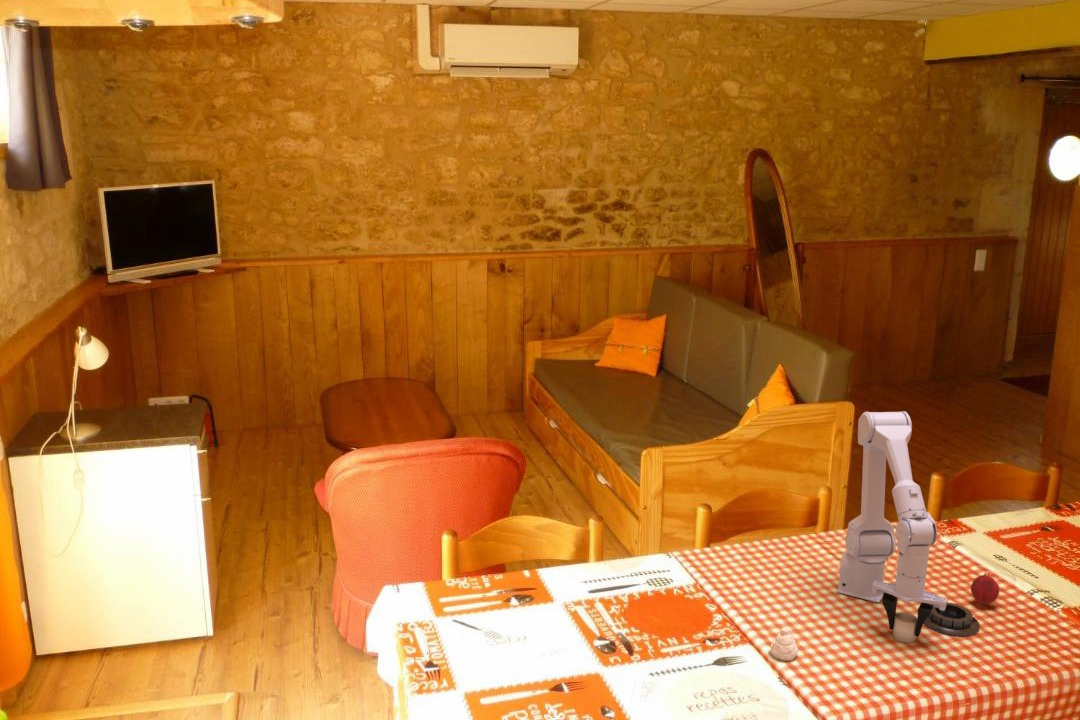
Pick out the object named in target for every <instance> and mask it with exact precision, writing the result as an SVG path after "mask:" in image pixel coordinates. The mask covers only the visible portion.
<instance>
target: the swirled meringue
mask: <svg viewBox="0 0 1080 720" xmlns="http://www.w3.org/2000/svg"><path fill="white" fill-rule="evenodd" d="M770 643H771V644H770V654H771V655H772V656H773V657H774V658H776V659H778V660H780V661H784V662H790V661H793V660H795V658H796V656H797V655H798V653H799V649H798V645H797V644H796V643H797V642H796V640H795V639H794V637H793V635H792V634H791V633H790V630H789V629H788V627H786V626H785V627H782V628H781V629H780V631H779V633H778V634H777V636H776V637H774V638H773V639H772V642H770Z"/></svg>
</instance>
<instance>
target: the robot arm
mask: <svg viewBox="0 0 1080 720" xmlns="http://www.w3.org/2000/svg"><path fill="white" fill-rule="evenodd" d="M912 423H913V422H912V420H911V417H910V415H909V413H908V412H907V411H904V410H903V411H901V410H900V411H882V412H879V411H877V412H876V411H871V412H869V411H864V412H863V413H862V414H861V415H860V417H859V418H858V423H857V444H858V445H860V446H862V448H863V449H862V451H863V452H862V475H861V476H862V479H861V480H862V481H861V482H862V483H861V507H860V514H859V515H858V516H856V517H855V518H853V519H852V520H850V521H849V522H848V525H847V531H846V535H845V539H844V540H845V542H844V543H845V549H846V550H845V551H844V552H843V554H842V557H841V560H840V567H839V574H838V575H839V576H838V586H837V589H836V590H837V591H836V592H837V593H838V594H842V595H847V596H849V597H853V598H858V599H862V600H866V601H868V602H873V603H877V604H879V603H880V602H881V604H882V605H883V607H884V610H885V612H886V616H887V619H888V629H889V630H891V631H893V627H894V618H895V614H897V605H898V600H900V601H901V602H904V603H912V602H913V603H917V604H920V605H919V606H918V608H917V627H916V631H915V636H916V638H919V637H920V635H921V634H922V633H921V632H922V629H923V625H924V622H925V620H926V619H927V617H928V616H929V615H930V613H931V612H932V609H933V607H936V608H939V610H942V611H944V610H945V608H946V603H947V602H948V598H946V597H942V596H938V595H936V594H934V593H932V592H929V591H927V590H925V588H926V579H927V574H928V573H927V572H928V571H927V570H928V565H929V564H928V562H929V557H930V556H929V555H930V554H929V553H930V545H931V546H933V545H934V544H936V542H937V539H938V529H937V524H936V521H935V520H934V518H933V516H932V515H931V513H930V512H928V511H927V509H926V508H927V507H926V504H925V501H924V497H923V494H922V493H923V492H922V489H921V486H920V485H919V484H917V483H916V482H915V481H914V480H913V474H912V466H911V460H910V454H909V448H908V444H909V442H910V440H911V437H912V432H913V430H912V428H913V424H912ZM887 463H888V466H889V469H890V472H891V475H892V477H893V480H894V484H895V485H894V487H893V488H892V489H891V494H892V498H893V502H894V506H895V510H896V515H897V519H898V522H897V524H896V526H895V527H894V525H893V524H892V523H891V522H890V521H889V520H888V519H886V518H885V503H886V502H885V499H886V498H885V496H886V495H885V494H886V473H887V472H886V471H887ZM895 533H896V537H895ZM896 539H897V541H896ZM896 542H897V543H896ZM896 548H897V550H898V559H897V566H896V575H895V576H896V577H895V583H892V582H891V583H890V582H884V576H885V565H886V562H887V561H889V557H892V556H893V555H894V553H895V551H896Z"/></svg>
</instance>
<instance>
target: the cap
mask: <svg viewBox="0 0 1080 720" xmlns="http://www.w3.org/2000/svg"><path fill="white" fill-rule="evenodd" d="M917 619H918V616H917V617H916V615H914V614H911V613H909V612H904V611H903V612H898V613H897V612H896V614H895V618H894V627H893V630H892V638H893V639H894V640H896V641H898V642H901V643H903V644H904V643H906V644H912V643H915V642H916V641H917V637H916V636H915V631H916V627H917Z"/></svg>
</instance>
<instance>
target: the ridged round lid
mask: <svg viewBox="0 0 1080 720" xmlns="http://www.w3.org/2000/svg"><path fill="white" fill-rule="evenodd" d="M923 625H924V626H925V627H927V628H929V630H932V631H934V632H937V633H938V634H941V635H942V634H943V635H946V636H949V637H950V636H951V637H960V638H961V637H962V638H963V637H971V636H975V635H976V634H978V632H979V631H980V627H981V626H980V622H979V621H978V620H977V619H976V618H975V617H974V615H973V613H972V612H971V611H970V609H968V608H966V607H964V606H962V605H959V604H956V603H952V602H948V601H947V603H946V608H945V610H944V611H942V610H939V608H936V607H933V609H932V612H931V613H930V615H929V616H928V617H927V619H926V620H925V622H924V624H923Z"/></svg>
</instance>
